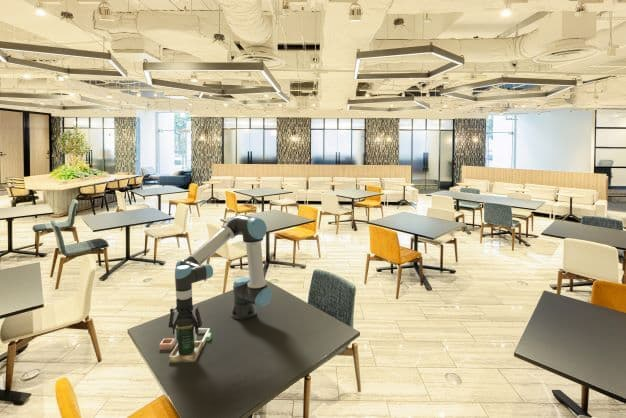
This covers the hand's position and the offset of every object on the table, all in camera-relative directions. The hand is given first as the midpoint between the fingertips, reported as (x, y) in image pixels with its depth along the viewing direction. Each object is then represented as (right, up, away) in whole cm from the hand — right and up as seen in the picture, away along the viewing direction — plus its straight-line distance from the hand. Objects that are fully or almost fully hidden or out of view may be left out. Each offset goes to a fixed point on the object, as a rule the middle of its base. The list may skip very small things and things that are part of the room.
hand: (186, 339), depth 185 cm
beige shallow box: (0, -8, +1) cm, 8 cm away
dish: (-12, -6, +8) cm, 16 cm away
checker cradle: (-1, -5, +16) cm, 17 cm away
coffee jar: (0, -6, +1) cm, 6 cm away
